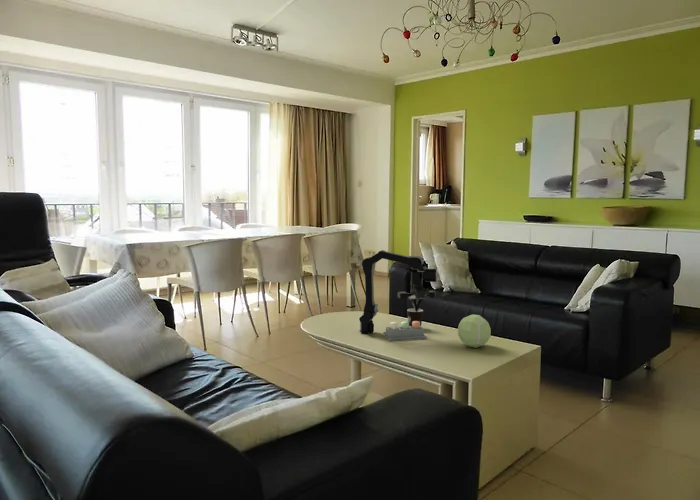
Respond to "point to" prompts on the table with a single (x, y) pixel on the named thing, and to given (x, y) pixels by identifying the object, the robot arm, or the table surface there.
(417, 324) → the terracotta button
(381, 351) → the table surface
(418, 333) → the grey compartment tray
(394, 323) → the ivory button
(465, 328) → the decorative sphere
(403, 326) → the sage button
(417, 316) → the coffee mug
